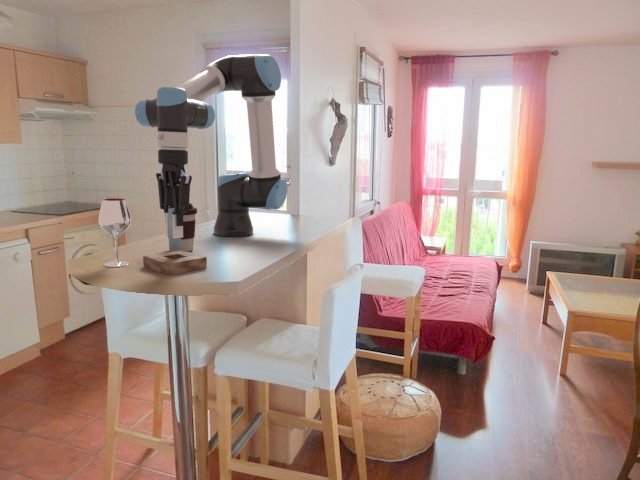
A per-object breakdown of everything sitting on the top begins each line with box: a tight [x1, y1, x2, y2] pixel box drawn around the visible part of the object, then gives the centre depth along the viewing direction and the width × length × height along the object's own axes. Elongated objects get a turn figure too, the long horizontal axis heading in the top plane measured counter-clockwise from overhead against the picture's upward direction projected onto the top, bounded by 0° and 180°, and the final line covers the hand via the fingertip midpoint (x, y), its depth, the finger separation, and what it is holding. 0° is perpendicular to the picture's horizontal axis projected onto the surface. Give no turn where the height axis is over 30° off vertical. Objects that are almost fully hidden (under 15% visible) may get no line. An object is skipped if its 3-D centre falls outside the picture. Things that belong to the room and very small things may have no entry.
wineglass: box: [98, 197, 132, 268], centre depth 131 cm, size 8×8×18 cm
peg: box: [168, 208, 181, 251], centre depth 130 cm, size 3×3×11 cm
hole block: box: [142, 250, 208, 276], centre depth 132 cm, size 12×12×3 cm
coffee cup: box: [164, 202, 198, 252], centre depth 153 cm, size 10×10×15 cm
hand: (174, 236), depth 131 cm, fingers closed on peg, 2 cm apart
